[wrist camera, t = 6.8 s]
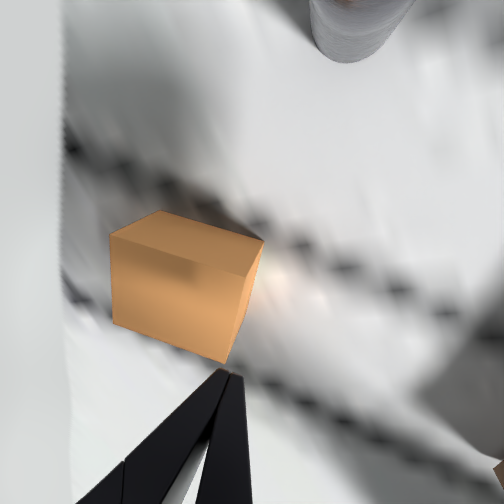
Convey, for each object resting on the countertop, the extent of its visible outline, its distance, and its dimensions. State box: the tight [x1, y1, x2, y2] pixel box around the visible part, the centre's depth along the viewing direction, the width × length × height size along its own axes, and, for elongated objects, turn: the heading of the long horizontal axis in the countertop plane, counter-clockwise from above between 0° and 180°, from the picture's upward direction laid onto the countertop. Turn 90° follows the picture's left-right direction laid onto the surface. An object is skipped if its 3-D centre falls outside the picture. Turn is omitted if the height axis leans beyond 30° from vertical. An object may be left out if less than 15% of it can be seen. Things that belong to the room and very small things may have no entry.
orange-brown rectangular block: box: [109, 210, 264, 364], centre depth 13 cm, size 6×5×4 cm
